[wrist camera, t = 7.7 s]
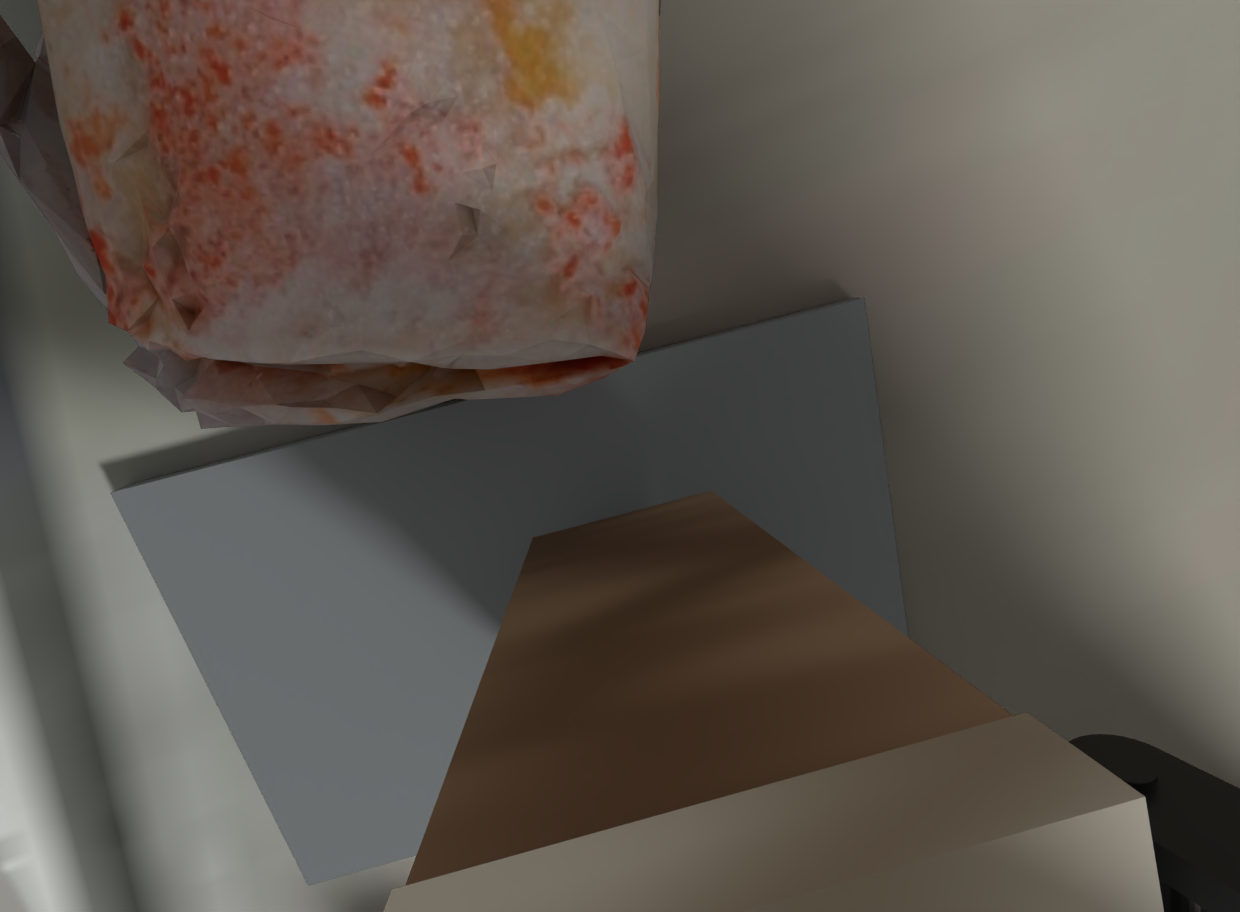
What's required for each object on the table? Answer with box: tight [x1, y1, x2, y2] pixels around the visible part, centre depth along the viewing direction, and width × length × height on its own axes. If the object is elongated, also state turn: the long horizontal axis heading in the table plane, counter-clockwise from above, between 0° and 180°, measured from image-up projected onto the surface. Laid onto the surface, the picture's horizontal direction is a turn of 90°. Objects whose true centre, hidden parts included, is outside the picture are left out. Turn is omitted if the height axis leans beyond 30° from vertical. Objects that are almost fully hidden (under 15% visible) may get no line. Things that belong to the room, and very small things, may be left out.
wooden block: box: [383, 491, 1164, 912], centre depth 8 cm, size 4×6×10 cm
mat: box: [111, 298, 908, 886], centre depth 16 cm, size 12×18×1 cm, turn 104°
